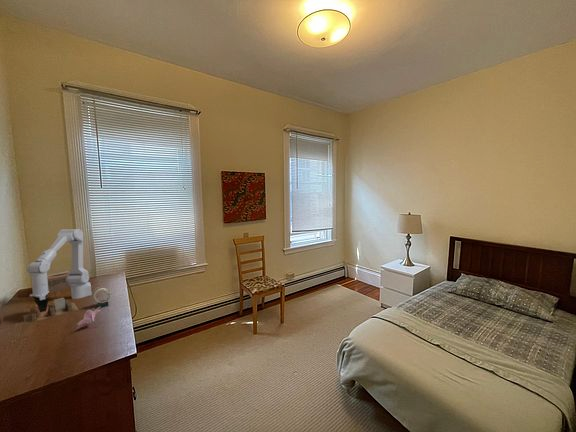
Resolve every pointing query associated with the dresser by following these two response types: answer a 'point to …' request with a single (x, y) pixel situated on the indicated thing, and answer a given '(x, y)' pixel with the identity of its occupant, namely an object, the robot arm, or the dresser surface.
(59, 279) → the tissue box cover
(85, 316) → the lily
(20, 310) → the dresser surface
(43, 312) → the terracotta plug
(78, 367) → the dresser surface
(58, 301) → the grey plug
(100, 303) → the watch
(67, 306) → the cable comb
